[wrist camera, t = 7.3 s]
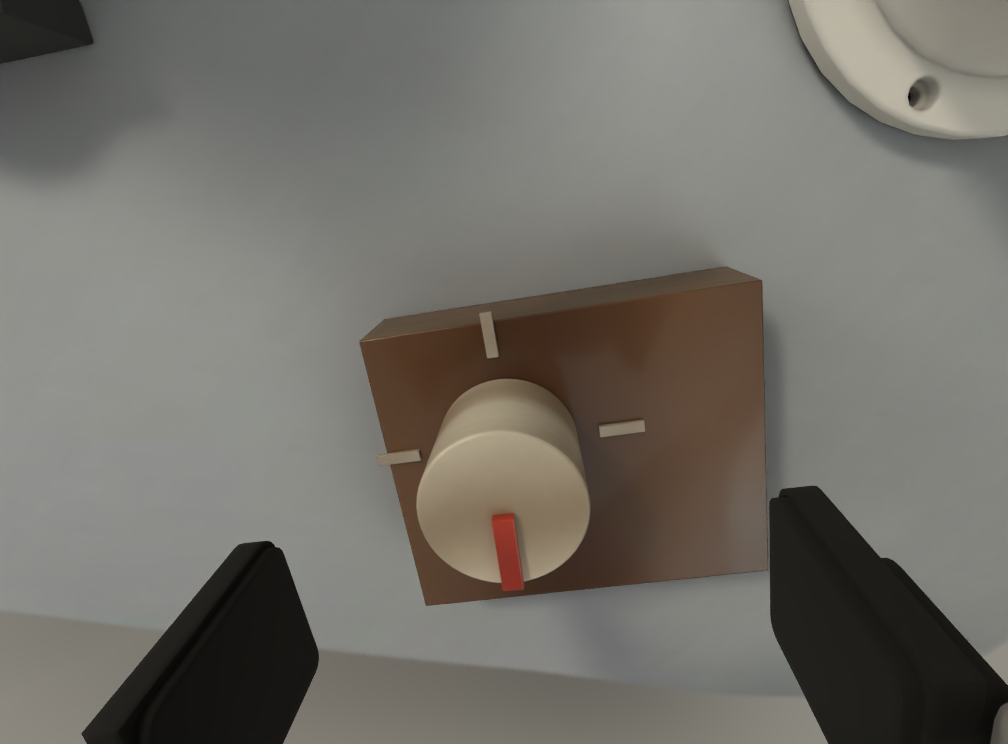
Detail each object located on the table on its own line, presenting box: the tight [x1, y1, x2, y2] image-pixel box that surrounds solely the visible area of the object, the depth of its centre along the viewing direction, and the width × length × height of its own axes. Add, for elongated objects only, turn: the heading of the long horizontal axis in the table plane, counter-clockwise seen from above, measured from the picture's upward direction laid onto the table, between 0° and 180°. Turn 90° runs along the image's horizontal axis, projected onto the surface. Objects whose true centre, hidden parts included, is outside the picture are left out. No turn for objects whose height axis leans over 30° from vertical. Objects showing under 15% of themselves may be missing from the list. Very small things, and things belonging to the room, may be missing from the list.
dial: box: [416, 379, 591, 591], centre depth 16 cm, size 4×4×4 cm
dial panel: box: [360, 267, 768, 606], centre depth 19 cm, size 12×10×3 cm
